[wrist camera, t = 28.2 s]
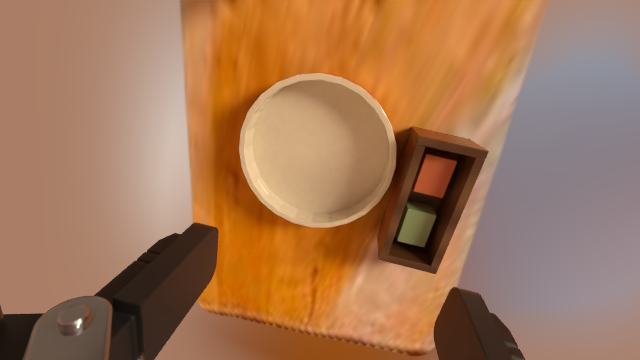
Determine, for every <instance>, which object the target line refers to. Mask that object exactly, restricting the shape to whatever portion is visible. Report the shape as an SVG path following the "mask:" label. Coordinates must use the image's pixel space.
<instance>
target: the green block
mask: <svg viewBox="0 0 640 360" xmlns="http://www.w3.org/2000/svg"><path fill="white" fill-rule="evenodd" d="M435 219H436V214H435V211H434V209H433V207H432V206H430V205H426V204H421V203H417V202H413V201H409V200H407V202H406V205H405V207H404V210H403V213H402V216H401V219H400V222H399V225H398V228H397V231H396V238H397V241H399V242H404V243H408V244H412V245H416V246H420V247H425V244H426V242H427V239H428V237H429V234H430V231H431V229H432V226H433V224H434V221H435Z"/></svg>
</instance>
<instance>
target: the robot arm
mask: <svg viewBox="0 0 640 360" xmlns="http://www.w3.org/2000/svg"><path fill="white" fill-rule="evenodd" d="M217 247H218V229H217V228H216V227H212V226H208V225H204V224H200V223H193V224H192V225H191V226H190V227H189V228H188V229H186V230H185V231H184V232H183V233H182V234H177V233H174V234H172V235H170V236H167V237H165V238H163V239H161V240H159V241H158V242H157V243H155V244H154V245H153V246H152V247H151V248H149V249H148V250H147V252H145V253H143V254H142V255H141V256H140V257H139V258H138V259H137V261H134V262H133V263H132V264H131V265H129V266H128V267H127V268H126V269H125V270H123V271H122V272H121V273H120V274H119V275H118V276H116V277H115V278H114V279H113V280H112V281H111V282H109V283H108V284H107V285H106V286H105V287H103V288H102V289H101V290H100V291H99V292H98V293H96V294H95V295H94V296H83V297H77V298H73V299H70V300H67V301H65V302H62V303H60V304H58V305H56V306H54V307H53V308H51V309H50V310H48V311H47V312H46V313H43V314H5V315H4V314H3V313H2V310H1V306H0V360H154V359H155V357H156V356H157V355H158V353H159V352H160V351H161V349H162V348H163V346H164V345H165V344H166V342H167V341H168V340H169V338H170V337H171V335H172V334H173V333H174V331H175V330H176V328H177V327H178V325H179V324H180V323H181V321H182V320H183V318H184V317H185V316H186V314H187V313H188V312H189V310H190V309H191V307H192V306H193V305H194V303H195V302H196V300H197V299H198V298H199V296H200V295H201V293H202V292H203V291H204V289H205V288H206V287H207V285H208V284H209V282H210V281H211V279H212V277H213V275H214V272H215V268H216V263H217ZM434 341H435V346H436V350H437V353H438V358H439V360H525V358H524V357H523V354H522V353H521V351H520V349H518V345H517V343H516V342H515V340H514V338H513V336H512V334H511V332H510V331H509V329H508V328H507V327H506V326H505V325H504V324H503V323H502V322H501V320H500V319H499V318H498V317H497V316H496V315H495V314H493V313H490V312H489V310H488V308H487V306H486V304H485V302H484V300H483V299H482V297H481V295H480V294H479V293H475V292H472V291H468V290H463V289H459V288H456V287H453V288H452V289H451V290H450V292H449V294H448V296H447V298H446V300H445V302H444V304H443V306H442V309H441V311H440V313H439V315H438V317H437V319H436V322H435V326H434Z"/></svg>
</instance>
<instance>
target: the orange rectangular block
mask: <svg viewBox="0 0 640 360" xmlns="http://www.w3.org/2000/svg"><path fill="white" fill-rule="evenodd" d="M456 164H457V160H456V159H455V158H454V157H452V156H451V155H450V154H446V153H442V152H437V151H433V150H429V149H424V152H423V155H422V158H421V161H420V164H419V167H418V170H417V173H416V175H415V178H414V181H413V184H412V189H413V191H415V192H419V193H423V194H428V195H432V196H436V197H440V198H443V196H444V194H445V191H446V189H447V186H448V184H449V181H450V179H451V176H452V174H453V171H454V169H455V166H456Z"/></svg>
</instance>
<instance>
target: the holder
mask: <svg viewBox="0 0 640 360" xmlns="http://www.w3.org/2000/svg"><path fill="white" fill-rule="evenodd" d="M424 149H429V150H433V151H437V152H442V153H446V154H450V155H451V156H452V157H454V158H455V159H456V160H457V164H456V166H455V169H454V171H453V174H452V176H451V179H450V181H449V184H448V186H447V189H446V191H445V194H444V196H443V198H440V197H436V196H432V195H428V194H423V193H419V192H415V191H413V189H412V184H413V181H414V178H415V175H416V173H417V170H418V167H419V164H420V161H421V158H422V155H423V152H424ZM487 154H488V151H487V150H486V149H484V148H482V147H481V146H479V145H478V144H476V143H475V142H473V141H471V140H470V139H465V138H461V137H456V136H452V135H448V134H443V133H439V132H434V131H430V130H425V129H421V128H416V127H412V128H411V131H410V134H409V137H408V140H407V144H406V147H405V150H404V153H403V156H402V159H401V162H400V165H399V169H398V172H397V175H396V178H395V181H394V184H393V187H392V191H391V194H390V197H389V200H388V203H387V206H386V209H385V213H384V216H383V219H382V222H381V225H380V228H379V231H378V235H377V242H378V256H379V260H383V261H386V262H390V263H394V264H398V265H402V266H406V267H410V268H414V269H418V270H422V271H426V272H429V273H433V274H436V272H437V270H438V268H439V266H440V263H441V261H442V259H443V256H444V254H445V252H446V249H447V247H448V245H449V242H450V240H451V238H452V235H453V233H454V231H455V228H456V226H457V224H458V221H459V219H460V217H461V214H462V212H463V210H464V207H465V205H466V203H467V200H468V198H469V196H470V194H471V191H472V189H473V187H474V184H475V182H476V180H477V177H478V175H479V173H480V170H481V168H482V166H483V163H484V161H485V159H486V156H487ZM407 200H409V201H413V202H417V203H421V204H426V205H430V206H432V207H433V209H434V211H435V214H436V219H435V221H434V224H433V226H432V229H431V231H430V234H429V237H428V239H427V242H426V244H425V247H420V246H416V245H412V244H408V243H404V242H399V241H397V238H396V231H397V228H398V225H399V222H400V219H401V216H402V213H403V210H404V207H405V205H406V202H407Z"/></svg>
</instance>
